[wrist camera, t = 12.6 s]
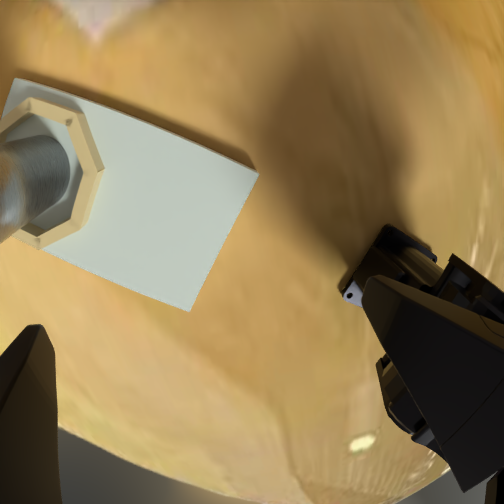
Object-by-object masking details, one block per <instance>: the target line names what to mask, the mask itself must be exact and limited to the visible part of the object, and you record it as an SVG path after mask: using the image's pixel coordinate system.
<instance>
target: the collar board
mask: <svg viewBox="0 0 504 504" xmlns="http://www.w3.org/2000/svg"><path fill="white" fill-rule="evenodd" d="M37 135H47V136H50V137H52V138H54V139H56V140H57V141H58V142H59V143H60V144H61V145H62V146H63V148H64V149H65V151H66V153H67V156H68V159H69V163H70V181H69V185H68V188H67V190H66V192H65V194H64V196H63V197H62V198H61V199H60V200H59V201H58V202H57V203H56V204H55V205H53V206H52V207H50V208H49V209H47V210H46V211H44V212H43V213H41V214H40V215H38V216H37V217H36V218H34V219H33V220H31V221H30V222H29V223H27V224H26V225H25V226H23V227H22V228H20V229H19V230H18V231H16V232H15V233H14V234H13V235H11V236H12V237H14V238H16V239H18V240H20V241H22V242H24V243H26V244H28V245H30V246H32V247H34V248H36V249H38V250H40V249H41V250H44V251H46V252H48V253H50V254H52V255H54V256H56V257H58V258H60V259H62V260H64V261H67V262H69V263H71V264H73V265H75V266H78V267H80V268H82V269H84V270H86V271H89V272H91V273H93V274H95V275H98V276H100V277H102V278H105V279H107V280H109V281H112V282H114V283H116V284H119V285H121V286H124V287H126V288H128V289H131V290H133V291H136V292H138V293H141V294H143V295H146V296H148V297H151V298H153V299H156V300H159V301H161V302H164V303H166V304H169V305H172V306H174V307H177V308H180V309H182V310H185V311H188V312H190V310H191V308H192V306H193V303H194V301H195V299H196V297H197V295H198V293H199V291H200V289H201V287H202V285H203V283H204V281H205V279H206V277H207V275H208V273H209V271H210V269H211V267H212V265H213V263H214V261H215V259H216V257H217V255H218V253H219V251H220V249H221V247H222V245H223V243H224V241H225V240H226V238H227V236H228V234H229V232H230V230H231V228H232V226H233V224H234V222H235V220H236V218H237V216H238V214H239V212H240V210H241V209H242V207H243V205H244V203H245V201H246V199H247V197H248V195H249V193H250V191H251V189H252V188H253V186H254V184H255V182H256V180H257V178H258V176H259V173H258V172H257V171H256V170H254V169H252V168H250V167H248V166H246V165H244V164H242V163H240V162H237V161H235V160H233V159H231V158H229V157H227V156H225V155H223V154H220V153H218V152H216V151H214V150H212V149H210V148H207V147H205V146H203V145H201V144H198V143H196V142H194V141H192V140H189V139H187V138H185V137H183V136H180V135H178V134H176V133H173V132H171V131H168V130H166V129H164V128H161V127H159V126H157V125H154V124H152V123H149V122H147V121H144V120H142V119H139V118H137V117H134V116H132V115H129V114H126V113H124V112H121V111H119V110H116V109H113V108H111V107H108V106H105V105H103V104H100V103H97V102H94V101H91V100H89V99H86V98H83V97H80V96H77V95H74V94H71V93H68V92H65V91H62V90H59V89H56V88H53V87H50V86H47V85H43V84H40V83H37V82H33V81H30V80H27V79H22V78H14V81H13V84H12V86H11V89H10V92H9V95H8V98H7V101H6V104H5V107H4V110H3V114H2V117H1V119H0V143H4V142H8V141H13V140H17V139H22V138H27V137H32V136H37Z"/></svg>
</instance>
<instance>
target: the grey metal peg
mask: <svg viewBox="0 0 504 504" xmlns="http://www.w3.org/2000/svg"><path fill="white" fill-rule="evenodd" d="M69 181H70V163H69V159H68V156H67V153H66V151H65V149H64V148H63V146H62V145H61V144H60V143H59V142H58V141H57V140H56V139H54V138H52V137H50V136H47V135H37V136H32V137H27V138H22V139H17V140H13V141H8V142H4V143H0V244H1V243H2V242H4V241H5V240H6V239H7V238H9V237H10V236H11V235H13V234H14V233H15V232H16V231H18V230H19V229H20V228H22V227H23V226H25V225H26V224H27V223H29V222H30V221H31V220H33V219H34V218H36V217H37V216H38V215H40V214H41V213H43V212H44V211H46V210H47V209H49V208H50V207H52V206H53V205H55V204H56V203H57V202H58V201H59V200H60V199H61V198H62V197H63V196H64V194H65V192H66V190H67V188H68V185H69Z"/></svg>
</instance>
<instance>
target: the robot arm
mask: <svg viewBox="0 0 504 504" xmlns="http://www.w3.org/2000/svg"><path fill="white" fill-rule="evenodd" d="M389 230H391V231H390V233H389V234H387V233H388V231H389ZM431 259H432V260H431ZM448 261H449V263H448V265H447V266H446V268H445V269H444V270H443V269H442V268H441V267H439V266H438V265H437V264H436V262H437V256H436V255H434V254H433V253H432V252H430V251H429V250H427V249H426V248H424V247H423V246H422V245H420V244H419V243H417V242H416V241H414V240H413V239H411V238H410V237H409V236H407V235H406V234H404V233H403V232H401V231H400V230H398V229H397V228H395V227H394V226H392V225H390V224H388V225H385V226H384V227H383V229H382V231H381V232H380V234H379V235H378V237H377V239H376V240H375V242H374V244H373V245H372V247H371V248H370V249H369V251H368V253H367V254H366V256H365V257H364V259H363V260H362V262H361V264H360V265H359V267H358V268H357V270H356V271H355V273H354V274H353V276H352V278H351V279H350V281H349V282H348V284H347V285H346V287H345V288H344V290H343V291H342V297H343V299H344V300H345V301H347V302H350V303H352V304H354V305H357V306H359V307H362V308H363V309H364V311H365V313H366V315H367V317H368V319H369V321H370V323H371V325H372V327H373V329H374V331H375V333H376V335H377V337H378V339H379V341H380V343H381V345H382V347H383V348H384V350H385V352H386V354H385V355H384V356H383V358H380V359H379V360H378V362H377V363H376V369H377V373H378V378H379V382H380V387H381V392H382V396H383V401H384V406H385V409H386V411H387V414H388V416H389V417H390V418H391V419H392V421H393V422H394V423H395V424H396V425H397V426H398V427H399V428H401V429H402V430H403V431H405V432H407V433H408V434H411V435H412V436H411V439H412V441H414V442H416V443H419V444H421V445H424V446H426V447H428V448H429V449H431V450H433V451H434V452H436V453H437V454H438V455H439V456H440V457H442V458H443V459H444V460H445V461H446V462H447V463H448V464H449V466H450V468H451V470H452V472H453V474H454V476H455V478H456V480H457V482H458V484H459V486H460V488H461V490H462V491H463V493H465V492H467V491H468V490H470V489H471V488H473V487H474V486H476V485H478V484H479V483H481V482H482V481H484V480H485V479H487V478H488V477H489V476H491V475H492V474H494V473H495V472H496V471H498V472H497V473H496V474H495V475H494V476H493V477H492V478H491V479H490V480H489V481H488V482H487V486H486V496H485V504H504V292H503V291H502V290H500V289H499V288H498V287H497V286H496V285H494V284H493V283H492V282H490V281H489V280H488V279H487V278H485V277H484V276H483V275H481V274H480V273H479V272H478V271H476V270H475V269H474V268H472V267H471V266H470V265H468V264H467V263H465V262H464V261H463V260H461V259H460V258H459V257H457V256H456V255H454V254H453V253H452V255H451V257H450V258H449V260H448ZM348 293H350V295H348V296H347V294H348ZM57 432H58V408H57V391H56V368H55V351H54V348H53V345H52V343H51V341H50V339H49V337H48V335H47V332H46V330H45V328H44V327H43V325H41V324H34V325H28V326H26V327H25V329H24V330H23V331H22V332H21V333H20V334H19V335H18V336H17V337H16V338H15V340H14V341H13V342H12V343H11V344H10V345H9V346H8V348H7V349H6V350H5V351H4V352H3V353H2V355H1V356H0V504H62V496H61V487H60V478H59V462H58V433H57Z"/></svg>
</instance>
